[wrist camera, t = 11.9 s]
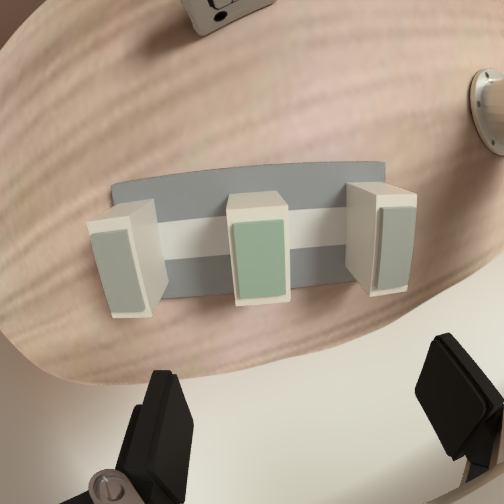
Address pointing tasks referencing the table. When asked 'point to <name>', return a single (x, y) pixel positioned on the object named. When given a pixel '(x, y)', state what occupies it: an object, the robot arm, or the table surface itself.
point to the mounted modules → (154, 270)
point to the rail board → (216, 229)
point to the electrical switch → (219, 12)
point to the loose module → (259, 247)
